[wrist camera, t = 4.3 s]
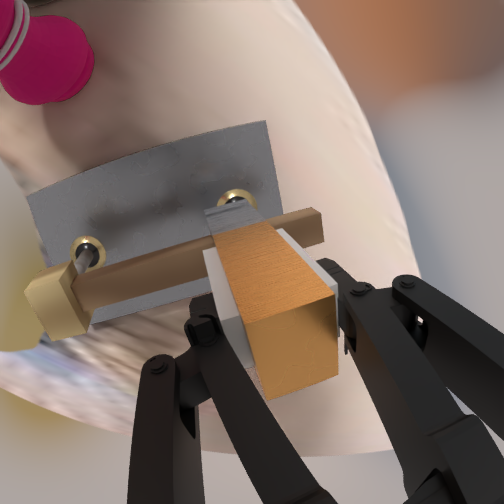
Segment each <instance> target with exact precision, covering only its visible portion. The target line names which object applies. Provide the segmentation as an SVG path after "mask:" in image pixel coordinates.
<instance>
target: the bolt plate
mask: <svg viewBox="0 0 504 504" xmlns="http://www.w3.org/2000/svg"><path fill="white" fill-rule="evenodd" d="M243 199H246V200H247V201H248V202H249V203H250V204H251V205H252V206H253V207H254V208H255V209H256V210H257V211H258V212H259V213H260V215H261V216H262V217H263V218H264V219H269V218H272V217H276V216H280V215H283V209H282V204H281V198H280V193H279V187H278V182H277V176H276V171H275V166H274V161H273V156H272V150H271V145H270V140H269V135H268V130H267V125H266V121H265V120H264V121H257V122H252V123H247V124H242V125H237V126H233V127H228V128H224V129H220V130H215V131H211V132H207V133H203V134H199V135H195V136H191V137H188V138H184V139H180V140H177V141H173V142H170V143H166V144H163V145H159V146H156V147H153V148H150V149H146V150H143V151H140V152H137V153H134V154H131V155H128V156H125V157H122V158H119V159H116V160H113V161H111V162H108V163H105V164H102V165H100V166H97V167H94V168H92V169H89V170H86V171H84V172H81V173H79V174H76V175H74V176H71V177H69V178H67V179H64V180H62V181H59V182H57V183H55V184H52V185H50V186H48V187H46V188H43V189H41V190H39V191H37V192H35V193H33V194H31V195H29V196H27V200H28V203H29V206H30V209H31V212H32V215H33V218H34V220H35V223H36V226H37V228H38V231H39V234H40V236H41V239H42V241H43V244H44V246H45V248H46V251H47V253H48V255H49V258H50V260H51V262H52V265H53V266H55V265H58V264H61V263H64V262H67V261H70V260H73V263H75V261H76V260H77V258H78V257H79V255H80V254H81V252H82V251H83V250H85V249H89V250H90V251H92V253H93V259H92V261H91V263H90V265H89V266H88V268H87V270H86V272H89V271H92V270H95V269H99V268H102V267H105V266H108V265H111V264H114V263H118V262H121V261H124V260H127V259H131V258H134V257H137V256H140V255H144V254H147V253H150V252H154V251H157V250H160V249H164V248H167V247H170V246H174V245H177V244H180V243H184V242H187V241H191V240H194V239H198V238H201V237H205V236H208V235H211V234H210V230H209V226H208V223H207V220H206V217H205V213H204V210H206V209H210V208H213V207H217V206H221V205H224V204H228V203H232V202H235V201H239V200H243ZM86 272H85V273H86ZM209 291H212V289H211V284H210V280H209V276H208V277H205V278H201V279H198V280H194V281H191V282H187V283H184V284H180V285H177V286H174V287H170V288H167V289H163V290H160V291H156V292H153V293H149V294H146V295H142V296H139V297H135V298H132V299H128V300H125V301H121V302H117V303H114V304H110V305H107V306H103V307H100V308H96V309H95V310H94V313H93V316H92V319H91V321H90V324H94V323H98V322H102V321H106V320H109V319H113V318H117V317H121V316H124V315H128V314H132V313H135V312H139V311H142V310H146V309H150V308H153V307H157V306H160V305H164V304H168V303H171V302H175V301H178V300H182V299H185V298H189V297H192V296H196V295H199V294H203V293H206V292H209ZM90 324H89V325H90Z"/></svg>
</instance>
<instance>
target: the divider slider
mask: <svg viewBox="0 0 504 504" xmlns="http://www.w3.org/2000/svg"><path fill="white" fill-rule="evenodd" d="M204 213H205V217H206V220H207V223H208V226H209V230H210V234H211V235H212V238H213V241H214V244H215V247H216V249H217V252H218V255H219V258H220V261H221V264H222V267H223V269H224V272H225V275H226V278H227V281H228V284H229V286H230V289H231V292H232V295H233V298H234V300H235V303H236V306H237V309H238V311H239V314H240V317H241V321H242V324H243V328H244V331H245V335H246V338H247V342H248V345H249V348H250V352H251V355H252V358H253V362H254V365H255V366H254V367H255V370H256V373H257V375H258V378H259V381H260V384H261V386H262V389H263V392H264V394H265V397H266V400H267V401H268V400H271V399H274V398H277V397H280V396H283V395H286V394H289V393H292V392H294V391H297V390H300V389H303V388H305V387H308V386H311V385H313V384H316V383H318V382H321V381H324V380H326V379H329V378H331V377H334V376H336V375H338V338H337V316H336V299H335V293H334V292H333V291H332V290H331V289H330V288H329V287H328V286H327V284H326V283H325V282H324V281H323V280H322V279H321V278H320V277H319V276H318V275H317V274H316V273H315V271H314V270H313V269H312V268H311V267H310V266H309V265H308V264H307V263H306V262H305V261H304V260H303V259H302V258H301V256H300V255H299V254H298V253H297V252H296V251H295V250H294V249H293V248H292V247H291V246H290V245H289V244H288V243H287V242H286V241H285V240H284V238H283V237H282V236H281V235H280V234H279V233H278V232H277V231H276V230H275V229H274V228H273V227H272V226H271V225H270V224H269V223H268V222H267V221H266V220H265V219H264V218H263V217H262V216H261V215H260V213H259V212H258V211H257V210H256V209H255V208H254V207H253V206H252V205H251V204H250V203H249V202H248V201H247V200H246V199H243V200H239V201H235V202H232V203H228V204H224V205H221V206H217V207H213V208H210V209H206V210H204Z"/></svg>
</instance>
